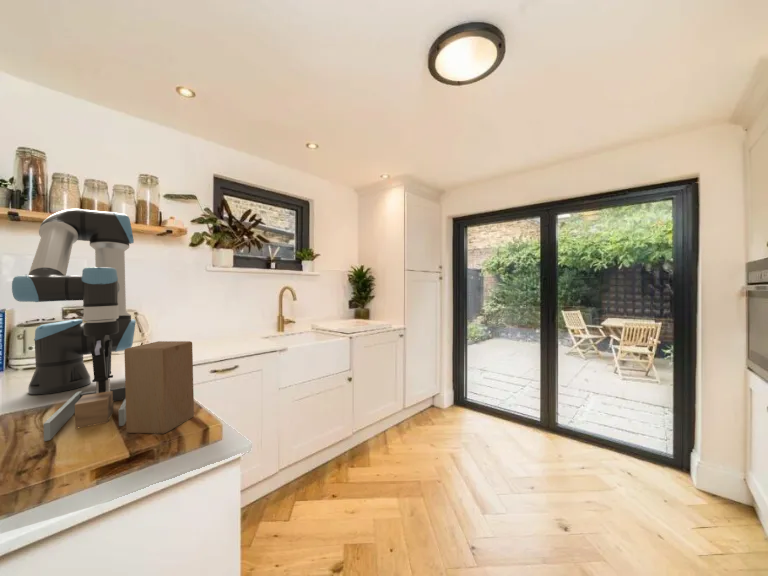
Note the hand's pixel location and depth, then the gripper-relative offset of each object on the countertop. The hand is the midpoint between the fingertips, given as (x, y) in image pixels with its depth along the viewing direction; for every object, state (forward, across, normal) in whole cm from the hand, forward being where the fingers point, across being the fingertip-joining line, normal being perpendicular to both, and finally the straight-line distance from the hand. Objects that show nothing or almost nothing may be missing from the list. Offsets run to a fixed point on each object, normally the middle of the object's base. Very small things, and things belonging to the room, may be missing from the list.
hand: (103, 402), depth 90 cm
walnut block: (+2, +10, 0) cm, 10 cm away
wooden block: (+2, +24, +15) cm, 28 cm away
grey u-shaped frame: (+1, +6, 0) cm, 6 cm away
